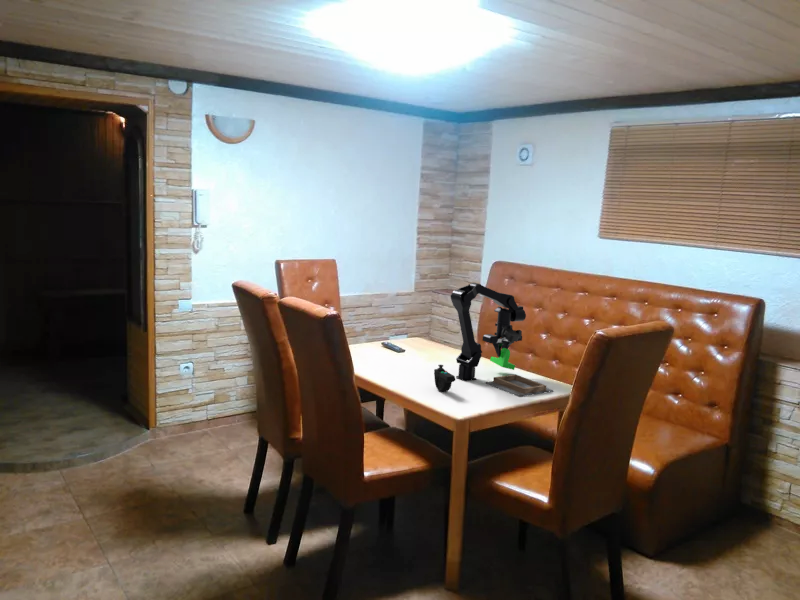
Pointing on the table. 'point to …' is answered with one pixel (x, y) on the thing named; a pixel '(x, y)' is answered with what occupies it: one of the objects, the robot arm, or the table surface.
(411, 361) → the table surface
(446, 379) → the controller
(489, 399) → the table surface
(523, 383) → the seat
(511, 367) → the mechanical part
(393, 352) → the table surface
